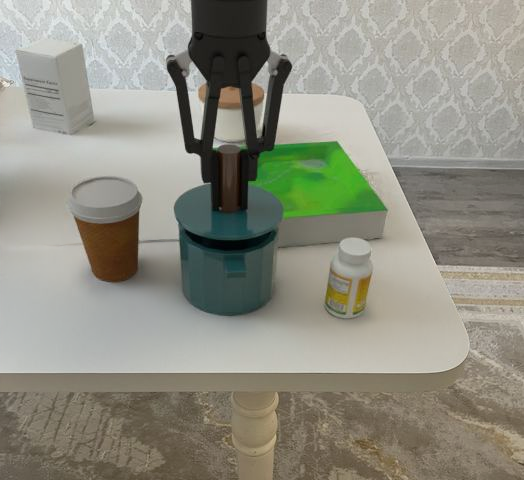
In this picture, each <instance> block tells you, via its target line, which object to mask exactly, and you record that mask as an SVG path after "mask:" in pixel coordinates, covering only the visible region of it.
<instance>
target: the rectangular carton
mask: <svg viewBox="0 0 524 480" xmlns="http://www.w3.org/2000/svg"><path fill="white" fill-rule="evenodd" d="M15 55H16V60H17V63H18V69H19V72H20V78H21V81H22V85H23V89H24V94H25V99H26V103H27V107H28V110H29V116H30V120H31V124H32V125H31V126H32V128H33V129H35V130H36V129H37V130H41V131H45V132H51V133H56V134H61V135H66V136H72V135H74V134H76V133H77V132H79V131H80V130H83V128H84V127H87V126H91V124H93V123H95V114H94V108H93V102H92V95H91V91H90V90H91V89H90V83H89V78H88V71H87V66H86V59H85V54H84V47H83V43H81V42H73V41H68V40H67V41H66V40H61V39H55V38H50V37H42V38H40V39H37V40H35V41H33V42H30V43H28V44H26V45H24V46H22V47H19V48H17V49H15Z"/></svg>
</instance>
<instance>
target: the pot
mask: <svg viewBox="0 0 524 480" xmlns="http://www.w3.org/2000/svg"><path fill="white" fill-rule="evenodd" d="M177 227H178V242H179V243H178V245H179V246H178V247H179V259H180V260H179V261H180V276H181V278H180V279H181V289H182V294H183V296H184V298H185V299H186V301H187V302H188V303H189V304H190V305H192V306H193V307H194V308H196V309H198V310H200V311H202V312H205V313H208V314H212V315H217V316H227V317H229V316H240V315H241V316H242V315H245V314H250V313H253V312H255V311H257V310H259V309H261V308H262V307H264V306H265V305H266V304H268V303H269V302H270V300H271V299H272V297H273V295H274V292H275V288H276V278H277V277H276V274H277V262H278V261H277V259H278V248H279V247H278V233H279V229H278V226H277V227H276V228H274V229H273V230H271V231H270V232H268V233H266V234H263V235H261V236H258V237H254V238H249V239H243V240H218V239H211V238H206V237H203V236H199V235H197V234H194V233H192V232H190V231H188V230H186V229H185V228H183V227H182V226H181V225H180V224H179V223H178V222H177Z"/></svg>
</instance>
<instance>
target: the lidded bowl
mask: <svg viewBox="0 0 524 480" xmlns="http://www.w3.org/2000/svg"><path fill="white" fill-rule="evenodd" d="M252 91H253V105H254V114H255V123H256V130H257V129H258V128H259V126H260V123H261V120H262V116H263V112H264V111H263V109H264V100H265V90H264V88H262V87H261V86H260V85H259V84H256V83H254V82H252ZM205 95H206V82H205V83H203V84H201V85H200V86H199V88H198V90H197V96H198V103H199V104H198V105H199V113H200V119H201V121H203V112H204V104H205ZM214 139H216V140H217V141H220V142H226V143H239V142H245V135H244V127H243V119H242V111H241V103H240V95H239V89H238V88H234V87H226V88H223V89H221V93H220V99H219V104H218V111H217V119H216V127H215V135H214Z"/></svg>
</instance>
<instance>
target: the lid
mask: <svg viewBox="0 0 524 480" xmlns="http://www.w3.org/2000/svg"><path fill="white" fill-rule="evenodd" d="M239 146H240V145H236V144H232V143H231V144H230V143H226V144H221V145H219V146H218V147H216V148H217V156H218V169H219V211H213V209H212V204H211V183H210V184H205V185H204V184H201V185H197V186H195V187H193V188H190V189H188V190H187V191H185V192H183V193H182V194H181V195H179V196H178V197H177V198H176V201H175V202H174V205H173V215H174V219H175V220H176V222H177V224H178V223H179V224H180V225H181V226H182V227H183V228H185V229H186V230H188V231H190V232H192V233H194V234H197V235H199V236H203V237H206V238H211V239H218V240H243V239H249V238H254V237H258V236H261V235H263V234H266V233H268V232H270V231H271V230H273V229H274V228H276V227H277V226H278V225H279V224H280V222H281V220H282V218H283V212H284V209H283V205H282V203H281V201H280V200H279V199H278V198H277V197H276V196H275V195H273V194H272V193H270V192H269V191H267V190H265V189H262V188H260V187H257V186H253V185H249V184H248V210H241V206H240V193H241V148H240V147H239Z"/></svg>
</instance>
